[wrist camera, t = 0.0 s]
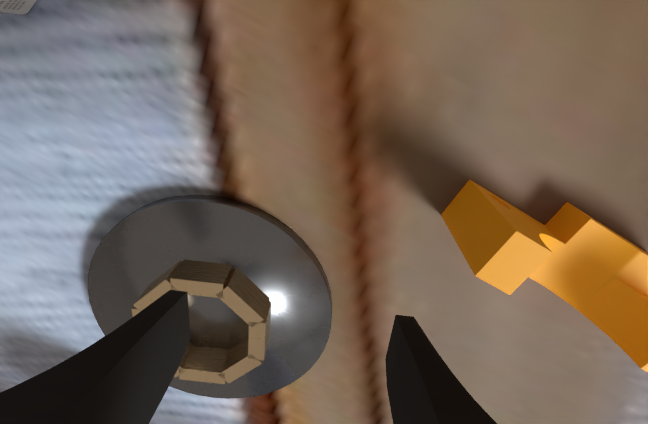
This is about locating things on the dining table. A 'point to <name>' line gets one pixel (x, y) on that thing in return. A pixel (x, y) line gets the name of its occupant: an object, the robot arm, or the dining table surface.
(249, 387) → the ring collar
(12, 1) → the coffee box
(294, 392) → the dining table surface
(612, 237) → the pipe clamp
